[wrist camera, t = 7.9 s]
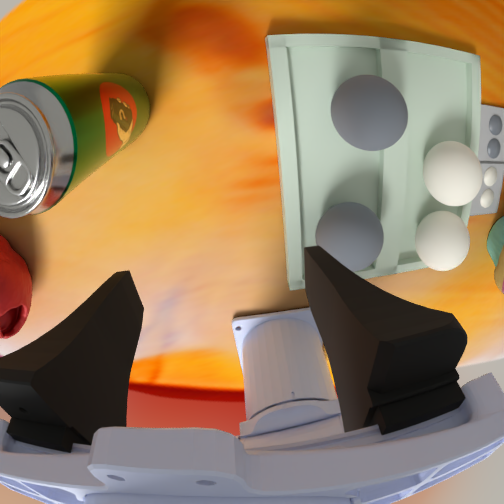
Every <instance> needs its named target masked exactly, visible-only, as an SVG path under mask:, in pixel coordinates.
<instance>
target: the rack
mask: <svg viewBox="0 0 504 504" xmlns="http://www.w3.org/2000/svg"><path fill="white" fill-rule="evenodd" d="M265 42H266V50H267V58H268V67H269V76H270V84H271V93H272V103H273V112H274V122H275V132H276V142H277V153H278V164H279V175H280V187H281V199H282V212H283V225H284V239H285V253H286V268H287V282H288V285H289V289H290V291H291V290H298V289H305V264H304V247H310V246H316V239H315V233H316V228H317V225H318V222H319V220H320V218H321V217H322V215H323V214H324V213H325V212H326V211H327V210H328V209H329V208H331V207H332V206H334V205H337V204H339V203H343V202H355V203H360V204H362V205H364V206H366V207H368V208H369V209H371V210H372V211H373V212H374V213H375V214H376V216H377V217H378V218H379V220H380V222H381V225H382V228H383V233H384V242H383V247H382V250H381V252H380V254H379V256H378V257H377V259H376V260H375V261H374V262H373V263H372V264H371V265H370V266H368V267H366V268H365V269H362V270H360V271H356V272H354V273H355V274H357V275H358V276H360V277H361V278H363V279H367V278H373V277H379V276H385V275H390V274H396V273H401V272H407V271H412V270H418V269H423V268H428V266H427V265H426V264H424V263H423V262H422V260H421V259H420V257H419V255H418V253H417V251H416V247H415V234H416V230H417V227H418V225H419V224H420V222H421V221H422V220H423V219H424V218H425V217H426V216H427V215H428V214H430V213H432V212H435V211H449V212H452V213H454V214H456V215H457V216H458V217H460V218H461V219H462V220H463V222H464V223H465V225H466V227H467V225H468V220H469V215H470V209H471V203H472V201H470V202H469V203H467V204H465V205H462V206H448V205H445V204H443V203H441V202H439V201H438V200H436V199H435V198H434V197H433V196H432V195H431V194H430V192H429V191H428V189H427V187H426V185H425V182H424V179H423V163H424V160H425V157H426V155H427V153H428V152H429V151H430V150H431V149H432V148H433V147H434V146H435V145H437V144H439V143H441V142H444V141H456V142H459V143H462V144H464V145H466V146H467V147H469V148H470V149H471V150H472V151H473V152H474V153H475V155H476V156H477V158H478V150H479V137H480V120H481V69H480V56H478V55H475V54H471V53H467V52H463V51H459V50H455V49H450V48H446V47H441V46H436V45H431V44H425V43H420V42H414V41H407V40H400V39H392V38H383V37H374V36H361V35H345V34H282V35H267V36H266V38H265ZM358 75H374V76H378V77H381V78H383V79H385V80H387V81H389V82H390V83H392V84H393V85H394V86H395V87H396V88H397V89H398V90H399V91H400V93H401V94H402V96H403V98H404V100H405V102H406V105H407V109H408V122H407V127H406V130H405V132H404V134H403V135H402V137H401V138H400V139H399V140H398V141H397V142H396V143H395V144H394V145H392V146H390V147H389V148H386V149H383V150H379V151H366V150H362V149H358V148H356V147H354V146H352V145H350V144H349V143H347V142H346V141H345V140H344V139H343V138H342V137H341V136H340V135H339V133H338V132H337V130H336V129H335V127H334V125H333V122H332V118H331V101H332V98H333V95H334V93H335V92H336V90H337V88H338V87H339V86H340V85H341V84H342V83H343V82H345V81H346V80H348V79H349V78H352V77H354V76H358Z"/></svg>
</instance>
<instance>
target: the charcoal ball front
mask: <svg viewBox="0 0 504 504" xmlns="http://www.w3.org/2000/svg"><path fill="white" fill-rule="evenodd" d="M331 118H332V122H333V125H334V127H335V129H336V130H337V132H338V133H339V135H340V136H341V137H342V138H343V139H344V140H345V141H346V142H347V143H349V144H350V145H352V146H354V147H356V148H358V149H362V150H366V151H379V150H383V149H386V148H389V147H390V146H392V145H394V144H395V143H396V142H397V141H398V140H399V139H400V138H401V137H402V135H403V134H404V132H405V130H406V127H407V122H408V109H407V105H406V102H405V100H404V98H403V96H402V94H401V93H400V91H399V90H398V89H397V88H396V87H395V86H394V85H393V84H392V83H390V82H389V81H387V80H385V79H383V78H381V77H378V76H374V75H358V76H354V77H352V78H349V79H348V80H346V81H345V82H343V83H342V84H341V85H340V86H339V87H338V88H337V90H336V92H335V93H334V95H333V98H332V101H331Z"/></svg>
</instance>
